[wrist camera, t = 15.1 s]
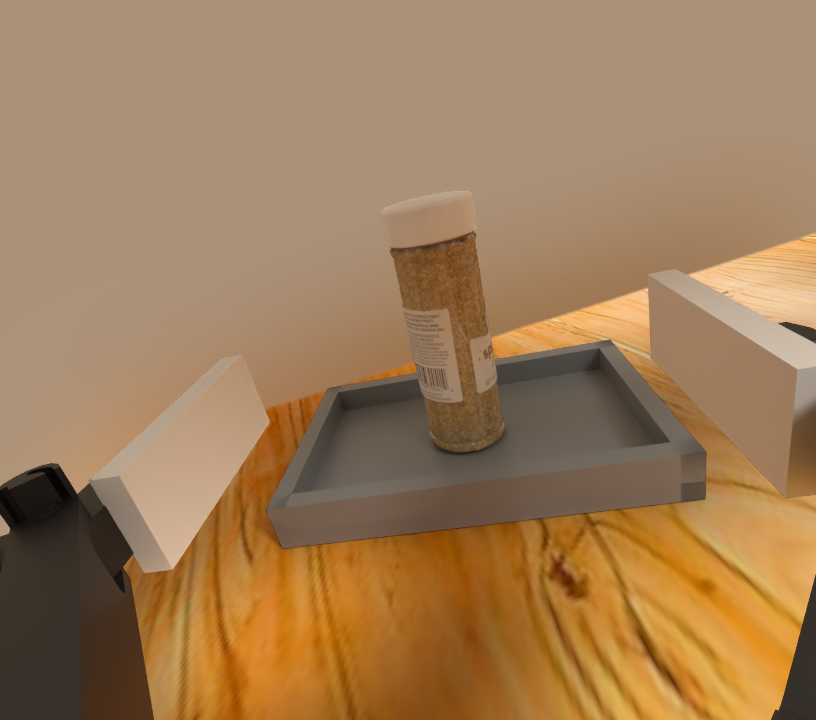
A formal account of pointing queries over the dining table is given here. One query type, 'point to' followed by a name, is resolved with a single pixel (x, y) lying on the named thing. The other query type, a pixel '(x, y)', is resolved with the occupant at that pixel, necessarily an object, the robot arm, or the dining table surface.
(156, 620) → the dining table surface
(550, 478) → the tray
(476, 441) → the sprinkles bottle
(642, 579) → the dining table surface
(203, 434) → the robot arm
